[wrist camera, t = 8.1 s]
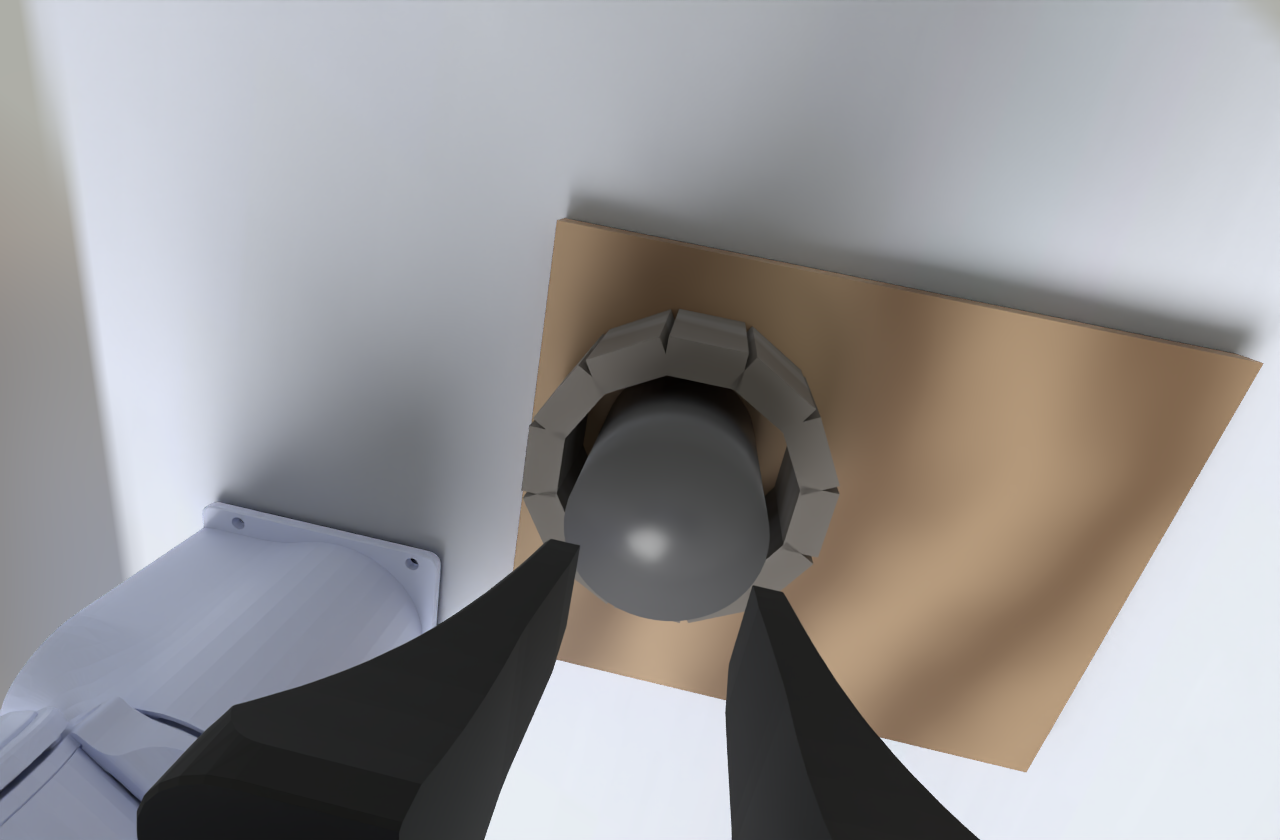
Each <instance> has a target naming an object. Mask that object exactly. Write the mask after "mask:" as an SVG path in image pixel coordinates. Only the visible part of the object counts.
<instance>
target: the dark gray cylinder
mask: <svg viewBox="0 0 1280 840" xmlns="http://www.w3.org/2000/svg"><path fill="white" fill-rule="evenodd" d="M564 536H565V542H568V543H572V544H576V545H580V550H579V556H578V562H577V568H576V570H577V572H578V573H579V575H580V576H581V578H582V579H583V580H584V581H585V583H586V584H587V585H588V586H589V587H590V588H591V589H592V590H593V591H594V592H595V593H596V594H597V595H599V596H600V597H601V598H603V599H604V600H605V601H607V602H608V603H610V604H612V605H613V606H615V607H617V608H618V609H621V610H623V611H625V612H627V613H630V614H633V615H636V616H639V617H642V618H647V619H652V620H659V621H684V620H692V619H696V618H701V617H705V616H707V615H710V614H713V613H716V612H718V611H720V610H721V609H723V608H725V607H727V606H729V605H730V604H732V603H733V602H735V601H736V600H737V599H739V598H740V597H741V596H742V595H743V594H744V593H745V592H746V591H747V590H748V589H749V588H750V587H751V585H752V584H753V583H754V582H755V580H756V578H757V577H758V575H759V574H760V572H761V570H762V568H763V565H764V563H765V560H766V557H767V553H768V548H769V540H770V532H769V521H768V515H767V509H766V503H765V497H764V491H763V484H762V478H761V472H760V466H759V460H758V454H757V448H756V442H755V435H754V430H753V424H752V421H751V418H750V415H749V412H748V410H747V408H746V406H745V405H744V403H743V402H742V400H741V399H740V397H739V396H738V395H737V394H736V393H735V392H734V391H733V390H732V389H729V388H724V387H720V386H715V385H710V384H706V383H701V382H696V381H692V380H687V379H682V378H678V377H673V376H668V375H666V376H663V377H660V378H656V379H653V380H650V381H646V382H643V383H640V384H637V385H633V386H630V387H627V388H625V389H624V390H623V392H622V393H621V394H620V395H619V396H618V397H617V399H616V401H615V402H614V404H613V405H612V407H611V410H610V412H609V414H608V416H607V418H606V420H605V422H604V424H603V426H602V429H601V431H600V433H599V435H598V437H597V439H596V441H595V443H594V445H593V448H592V450H591V452H590V454H589V456H588V458H587V460H586V462H585V464H584V466H583V469H582V471H581V473H580V475H579V477H578V479H577V481H576V483H575V485H574V488H573V490H572V492H571V494H570V496H569V499H568V502H567V505H566V509H565V516H564Z"/></svg>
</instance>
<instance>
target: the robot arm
mask: <svg viewBox="0 0 1280 840" xmlns="http://www.w3.org/2000/svg"><path fill="white" fill-rule="evenodd" d="M240 519H242V521H243V522H244V523H243V522H242V521H241V520H240ZM203 524H204V528H203V529H201V530H200V531H198V532H197V533H195V534H194V535H192V536H191V537H189V538H188V539H186V540H185V541H183V542H182V543H180V544H179V545H177V546H176V547H174V548H173V549H171V550H170V551H168V552H167V553H165V554H164V555H162V556H161V557H160V558H158V559H157V560H155V561H154V562H152V563H151V564H149V565H148V566H146V567H145V568H143V569H142V570H140V571H139V572H137V573H136V574H134V575H133V576H131V577H130V578H128V579H127V580H125V581H124V582H122V583H121V584H119V585H118V586H116V587H115V588H113V589H112V590H110V591H109V592H107V593H106V594H105V595H103V596H102V597H100V598H99V599H97V600H96V601H94V602H93V603H91V604H90V605H88V606H87V607H85V608H84V609H82V610H81V611H79V612H78V613H76V614H75V615H73V616H72V617H71V618H70V619H68V620H67V621H66V622H65V623H63V624H62V625H61V626H60V627H58V629H56V630H55V631H54V632H53V633H52V634H51V635H50V636H49V637H48V638H47V639H46V640H45V641H44V642H43V643H42V644H41V646H40V647H39V648H38V649H37V650H36V651H35V652H34V653H33V655H32V656H31V657H30V658H29V660H28V661H27V662H26V664H25V665H24V666H23V668H22V669H21V671H20V672H19V674H18V675H17V677H16V678H15V680H14V681H13V683H12V685H11V687H10V689H9V690H8V692H7V695H6V697H5V699H4V702H3V704H2V708H1V711H0V840H484V838H485V835H486V832H487V829H488V826H489V823H490V820H491V817H492V815H493V812H494V809H495V806H496V803H497V800H498V797H499V794H500V791H501V789H502V786H503V784H504V781H505V779H506V776H507V774H508V771H509V769H510V767H511V764H512V762H513V760H514V758H515V755H516V753H517V751H518V749H519V746H520V744H521V742H522V740H523V737H524V735H525V733H526V731H527V728H528V726H529V724H530V722H531V719H532V717H533V715H534V712H535V710H536V708H537V706H538V703H539V701H540V699H541V697H542V694H543V692H544V690H545V687H546V685H547V683H548V681H549V678H550V676H551V674H552V671H553V668H554V665H555V662H556V659H557V655H558V652H559V649H560V646H561V643H562V639H563V636H564V633H565V630H566V626H567V621H568V615H569V609H570V603H571V597H572V591H573V585H574V580H575V574H576V568H577V562H578V556H579V550H580V545H576V544H572V543H568V542H563V541H559V540H555V539H550V540H548V541H546V542H545V543H544V544H543V545H542V546H541V547H539V548H538V549H537V550H536V551H535V552H534V553H533V554H532V555H531V556H530V557H529V558H528V559H526V560H525V561H524V562H523V563H522V564H521V565H520V566H518V567H517V568H516V569H515V570H514V571H513V572H511V573H510V574H509V575H508V576H506V577H505V578H504V579H503V580H501V581H500V582H499V583H498V584H496V585H495V586H494V587H493V588H491V589H490V590H489V591H487V592H486V593H485V594H483V595H482V596H480V597H479V598H478V599H476V600H475V601H473V602H472V603H471V604H469V605H468V606H466V607H465V608H463V609H462V610H461V611H459V612H458V613H456V614H455V615H453V616H452V617H450V618H448V619H447V620H445V621H444V622H442V623H440V624H439V625H437V611H438V598H439V584H440V570H441V562H440V559H439V558H438V556H437V555H436V554H434V553H432V552H430V551H426V550H422V549H418V548H414V547H409V546H405V545H401V544H396V543H392V542H388V541H384V540H379V539H375V538H371V537H366V536H362V535H358V534H354V533H349V532H345V531H341V530H336V529H332V528H328V527H324V526H319V525H315V524H311V523H307V522H302V521H298V520H294V519H289V518H285V517H281V516H277V515H272V514H268V513H264V512H259V511H255V510H251V509H247V508H242V507H238V506H234V505H229V504H225V503H221V502H214V503H211V504H210V505H208V506H206V507H205V508H204V510H203ZM410 558H413V559H415V560H416V561H417V562H418V564H415V563H413V562H412V561H411V559H410ZM436 625H437V626H436ZM725 714H726V736H727V755H728V773H729V790H730V808H731V826H732V840H980V839H978V838H977V837H976V836H975V835H974V834H973V833H972V832H971V831H969V830H968V829H967V828H966V827H965V826H964V825H963V824H962V823H961V822H960V821H959V820H957V819H956V818H955V817H954V816H953V815H952V814H951V813H950V812H949V811H948V810H947V809H946V808H945V807H944V806H943V805H942V804H941V803H940V802H939V801H938V800H937V799H936V798H935V797H934V796H933V795H932V794H931V793H930V792H929V791H928V790H927V789H926V788H925V787H924V786H923V785H922V784H921V783H920V782H919V781H918V780H917V779H916V778H915V777H914V776H913V775H912V774H911V773H910V772H909V771H908V769H907V768H906V767H905V766H904V765H903V764H902V763H901V762H900V761H899V760H898V759H897V757H896V756H895V755H894V754H893V753H892V752H891V750H890V749H889V748H888V747H887V746H886V744H885V743H884V742H883V741H882V740H881V739H880V737H879V736H878V735H877V734H876V733H875V731H874V730H873V729H872V728H871V727H870V725H869V724H868V723H867V722H866V720H865V719H864V718H863V717H862V715H861V714H860V713H859V711H858V710H857V709H856V707H855V706H854V704H853V703H852V702H851V700H850V699H849V698H848V696H847V695H846V693H845V692H844V691H843V689H842V688H841V686H840V685H839V684H838V682H837V681H836V679H835V678H834V676H833V675H832V673H831V671H830V670H829V668H828V667H827V665H826V664H825V662H824V660H823V659H822V657H821V656H820V654H819V653H818V651H817V649H816V648H815V646H814V644H813V643H812V641H811V639H810V637H809V636H808V634H807V632H806V631H805V629H804V627H803V625H802V624H801V622H800V620H799V618H798V617H797V615H796V613H795V611H794V610H793V608H792V606H791V604H790V603H789V601H788V599H787V597H786V596H785V594H784V593H783V592H781V591H776V590H772V589H768V588H763V587H759V586H755V585H753V586H752V589H751V592H750V595H749V599H748V602H747V605H746V609H745V612H744V615H743V619H742V622H741V625H740V629H739V632H738V635H737V639H736V642H735V645H734V649H733V652H732V655H731V658H730V662H729V667H728V680H727V695H726V712H725Z"/></svg>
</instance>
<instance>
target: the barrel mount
mask: <svg viewBox="0 0 1280 840" xmlns="http://www.w3.org/2000/svg"><path fill="white" fill-rule="evenodd" d="M1262 365H1263V363H1261V362H1258V361H1255V360H1252V359H1250V358H1247V357H1244V356H1241V355H1238V354H1235V353H1230V352H1225V351H1220V350H1215V349H1210V348H1205V347H1200V346H1195V345H1190V344H1185V343H1180V342H1175V341H1170V340H1165V339H1160V338H1155V337H1151V336H1146V335H1141V334H1136V333H1131V332H1126V331H1121V330H1116V329H1111V328H1106V327H1101V326H1096V325H1091V324H1086V323H1081V322H1076V321H1071V320H1066V319H1062V318H1057V317H1052V316H1047V315H1042V314H1037V313H1032V312H1027V311H1022V310H1017V309H1012V308H1007V307H1002V306H997V305H992V304H987V303H982V302H977V301H972V300H968V299H963V298H958V297H953V296H948V295H943V294H938V293H933V292H928V291H923V290H918V289H913V288H908V287H903V286H898V285H893V284H888V283H883V282H879V281H874V280H869V279H864V278H859V277H854V276H849V275H844V274H839V273H834V272H829V271H824V270H819V269H814V268H809V267H804V266H799V265H794V264H790V263H785V262H780V261H775V260H770V259H765V258H760V257H755V256H750V255H745V254H740V253H735V252H730V251H725V250H720V249H715V248H710V247H705V246H700V245H696V244H691V243H686V242H681V241H676V240H671V239H666V238H661V237H656V236H651V235H646V234H641V233H636V232H631V231H626V230H621V229H616V228H611V227H607V226H602V225H597V224H592V223H587V222H582V221H577V220H572V219H567V218H564V219H560V220H557V225H556V233H555V241H554V248H553V256H552V264H551V272H550V280H549V288H548V296H547V304H546V312H545V320H544V328H543V336H542V344H541V352H540V360H539V368H538V376H537V384H536V392H535V400H534V408H533V416H532V423H531V425H530V426H529V434H528V442H527V450H526V458H525V466H524V474H523V482H522V491H523V495H522V503H521V511H520V519H519V527H518V535H517V543H516V551H515V559H514V567H513V571H514V570H515V569H516V568H517V567H518V566H520V565H521V564H522V563H523V562H524V561H525V560H526V559H528V558H529V557H530V556H531V555H532V554H533V553H534V552H535V551H536V550H537V549H538V548H539V547H541V546H542V545H543V544H544V543H545V542H546V541H548V540H550V539H555V540H559V541H563V542H565V536H564V516H565V509H566V505H567V502H568V499H569V496H570V494H571V492H572V490H573V488H574V485H575V483H576V481H577V479H578V477H579V475H580V473H581V471H582V469H583V466H584V464H585V462H586V460H587V458H588V456H589V454H590V452H591V450H592V448H593V445H594V443H595V441H596V439H597V437H598V435H599V433H600V431H601V429H602V426H603V424H604V422H605V420H606V418H607V416H608V414H609V412H610V410H611V407H612V405H613V404H614V402H615V401H616V399H617V397H618V396H619V395H620V394H621V393H622V392H623V390H624V389H625V388H627V387H630V386H633V385H637V384H640V383H643V382H646V381H650V380H653V379H656V378H660V377H663V376H666V375H668V376H673V377H678V378H682V379H687V380H692V381H696V382H701V383H706V384H710V385H715V386H720V387H724V388H729V389H732V390H733V391H734V392H735V393H736V394H737V395H738V396H739V397H740V399H741V400H742V402H743V403H744V405H745V406H746V408H747V410H748V412H749V415H750V418H751V421H752V424H753V430H754V435H755V442H756V448H757V454H758V460H759V466H760V472H761V478H762V484H763V491H764V497H765V503H766V509H767V515H768V521H769V532H770V540H769V548H768V553H767V557H766V560H765V563H764V565H763V568H762V570H761V572H760V574H759V575H758V577H757V578H756V580H755V582H754V583H753V584H752V585H751V587H750V588H749V589H748V590H747V591H746V592H745V593H744V594H743V595H742V596H741V597H740V598H739V599H737V600H736V601H735V602H733V603H732V604H730V605H729V606H727V607H725V608H723V609H721V610H720V611H718V612H716V613H713V614H710V615H707V616H705V617H701V618H696V619H692V620H684V621H659V620H652V619H647V618H642V617H639V616H636V615H633V614H630V613H627V612H625V611H623V610H621V609H618V608H617V607H615V606H613V605H612V604H610V603H608V602H607V601H605V600H604V599H603V598H601V597H600V596H599V595H597V594H596V593H595V592H594V591H593V590H592V589H591V588H590V587H589V586H588V585H587V584H586V583H585V581H584V580H583V579H582V578H581V576H580V575H579V573H578V572H577V570H576V574H575V580H574V585H573V591H572V597H571V603H570V609H569V615H568V621H567V626H566V630H565V633H564V636H563V639H562V643H561V646H560V649H559V652H558V655H557V659H556V660H560V661H565V662H569V663H573V664H577V665H581V666H585V667H590V668H594V669H598V670H602V671H606V672H610V673H615V674H619V675H623V676H627V677H631V678H635V679H640V680H644V681H648V682H652V683H656V684H660V685H665V686H669V687H673V688H677V689H681V690H685V691H690V692H694V693H698V694H702V695H706V696H710V697H715V698H719V699H723V700H726V695H727V680H728V667H729V662H730V658H731V655H732V652H733V649H734V645H735V642H736V639H737V635H738V632H739V629H740V625H741V622H742V619H743V615H744V612H745V609H746V605H747V602H748V599H749V595H750V592H751V589H752V586H753V585H755V586H759V587H763V588H768V589H772V590H776V591H781V592H783V593H784V594H785V596H786V597H787V599H788V601H789V603H790V604H791V606H792V608H793V610H794V611H795V613H796V615H797V617H798V618H799V620H800V622H801V624H802V625H803V627H804V629H805V631H806V632H807V634H808V636H809V637H810V639H811V641H812V643H813V644H814V646H815V648H816V649H817V651H818V653H819V654H820V656H821V657H822V659H823V660H824V662H825V664H826V665H827V667H828V668H829V670H830V671H831V673H832V675H833V676H834V678H835V679H836V681H837V682H838V684H839V685H840V686H841V688H842V689H843V691H844V692H845V693H846V695H847V696H848V698H849V699H850V700H851V702H852V703H853V704H854V706H855V707H856V709H857V710H858V711H859V713H860V714H861V715H862V717H863V718H864V719H865V720H866V722H867V723H868V724H869V725H870V727H871V728H872V729H873V730H874V731H875V733H876V734H877V735H878V736H879V737H881V738H885V739H890V740H894V741H898V742H902V743H906V744H910V745H914V746H919V747H923V748H927V749H931V750H935V751H939V752H944V753H948V754H952V755H956V756H960V757H964V758H969V759H973V760H977V761H981V762H985V763H989V764H994V765H998V766H1002V767H1006V768H1010V769H1014V770H1019V771H1023V772H1027V770H1028V768H1029V767H1030V765H1031V763H1032V762H1033V760H1034V758H1035V756H1036V755H1037V753H1038V751H1039V749H1040V748H1041V746H1042V744H1043V743H1044V741H1045V739H1046V737H1047V736H1048V734H1049V732H1050V730H1051V729H1052V727H1053V725H1054V724H1055V722H1056V720H1057V718H1058V717H1059V715H1060V713H1061V711H1062V710H1063V708H1064V706H1065V705H1066V703H1067V701H1068V699H1069V698H1070V696H1071V694H1072V693H1073V691H1074V689H1075V687H1076V686H1077V684H1078V682H1079V680H1080V679H1081V677H1082V675H1083V674H1084V672H1085V670H1086V668H1087V667H1088V665H1089V663H1090V661H1091V660H1092V658H1093V656H1094V655H1095V653H1096V651H1097V649H1098V648H1099V646H1100V644H1101V643H1102V641H1103V639H1104V637H1105V636H1106V634H1107V632H1108V630H1109V629H1110V627H1111V625H1112V624H1113V622H1114V620H1115V618H1116V617H1117V615H1118V613H1119V611H1120V610H1121V608H1122V606H1123V605H1124V603H1125V601H1126V599H1127V598H1128V596H1129V594H1130V593H1131V591H1132V589H1133V587H1134V586H1135V584H1136V582H1137V580H1138V579H1139V577H1140V575H1141V574H1142V572H1143V570H1144V568H1145V567H1146V565H1147V563H1148V561H1149V560H1150V558H1151V556H1152V555H1153V553H1154V551H1155V549H1156V548H1157V546H1158V544H1159V543H1160V541H1161V539H1162V537H1163V536H1164V534H1165V532H1166V530H1167V529H1168V527H1169V525H1170V524H1171V522H1172V520H1173V518H1174V517H1175V515H1176V513H1177V511H1178V510H1179V508H1180V506H1181V505H1182V503H1183V501H1184V499H1185V498H1186V496H1187V494H1188V493H1189V491H1190V489H1191V487H1192V486H1193V484H1194V482H1195V480H1196V479H1197V477H1198V475H1199V474H1200V472H1201V470H1202V468H1203V467H1204V465H1205V463H1206V461H1207V460H1208V458H1209V456H1210V455H1211V453H1212V451H1213V449H1214V448H1215V446H1216V444H1217V442H1218V441H1219V439H1220V437H1221V436H1222V434H1223V432H1224V430H1225V429H1226V427H1227V425H1228V424H1229V422H1230V420H1231V418H1232V417H1233V415H1234V413H1235V411H1236V410H1237V408H1238V406H1239V405H1240V403H1241V401H1242V399H1243V398H1244V396H1245V394H1246V392H1247V391H1248V389H1249V387H1250V386H1251V384H1252V382H1253V380H1254V379H1255V377H1256V375H1257V374H1258V372H1259V370H1260V368H1261V367H1262Z"/></svg>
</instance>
